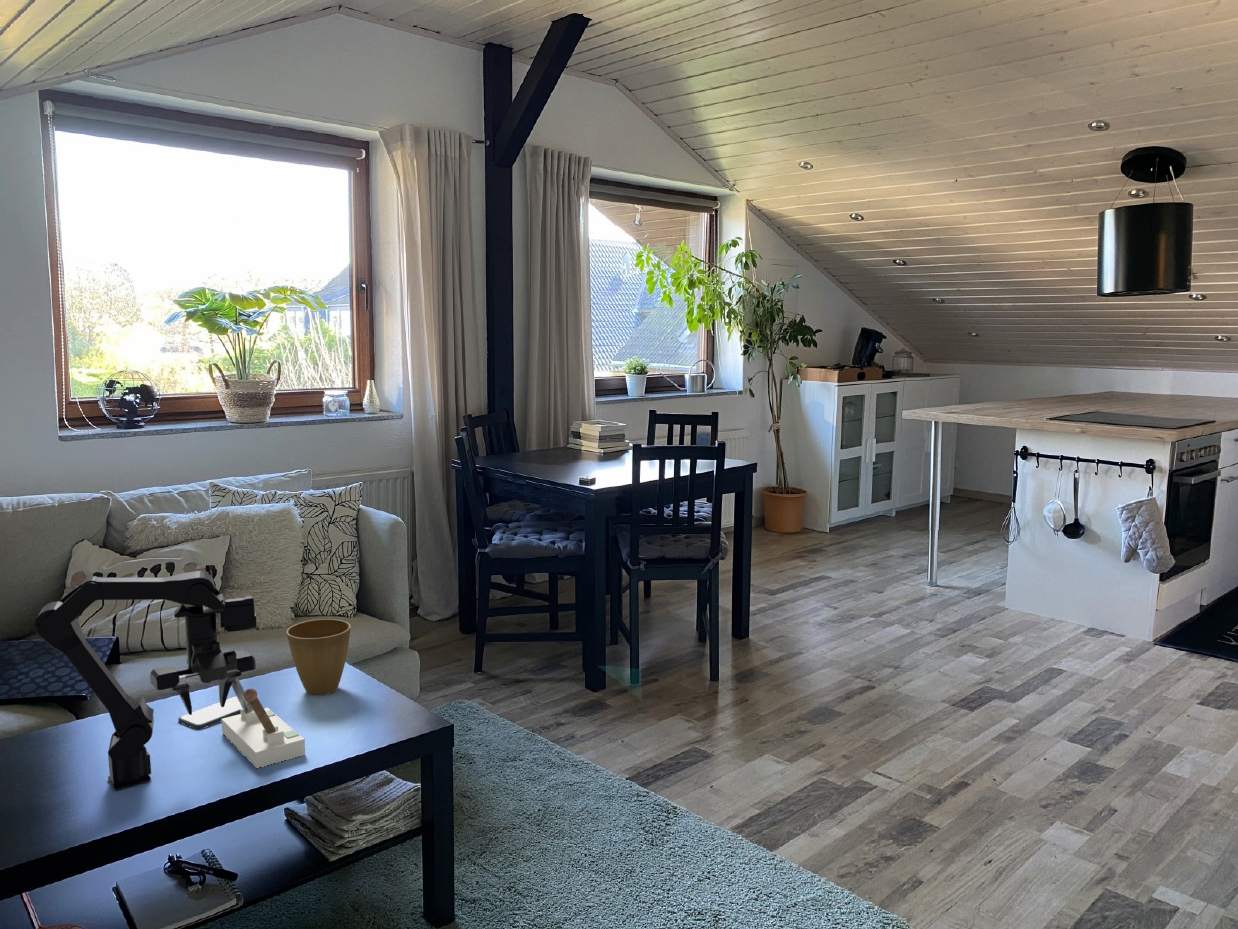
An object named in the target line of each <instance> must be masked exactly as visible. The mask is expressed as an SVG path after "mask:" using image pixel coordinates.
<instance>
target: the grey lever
mask: <svg viewBox="0 0 1238 929" xmlns="http://www.w3.org/2000/svg"><path fill="white" fill-rule="evenodd" d="M231 688H232V690H233V692H234V694H235V696H237V698H238V700H239V702H240V704H241V706H242V708H243V710H244V712H245V713H249V712H253V708H252V707H251V705H250V703H249V701H246V700H245V699H244V692H245V690H244V688H243V686H242V684H241V682H240V680H239V677H237V678H236V679H235V680H234V681H233V683H232V685H231Z"/></svg>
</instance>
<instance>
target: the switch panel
mask: <svg viewBox="0 0 1238 929" xmlns="http://www.w3.org/2000/svg"><path fill="white" fill-rule="evenodd" d="M263 708H264V710H265V711H266V713H267V715H268V717H269V718H270V720H271V722H272V724H273V725H274V727H275V729H276V732H274V733H270V734H267V732H266V731H265V729H264V727H263V726H262V724H261V722H260V720H259V719H258V717H257V715H256V713H255V712H254V710H253V712H249V713H245V712H244V710H243V709H240V710H241V714H239V715H235V716H231V717H227V718H223V719H221V720H222V722H221V732H222V733H223V734H224V735H225V736H226V737H227V738H228V739H229V740H230V741H231V742H230V741H229V740H228V739H227V738H226V737H225V736H224V735H223V734H222V733H221V734H222V735H223V736H224V737H225V738H226V739H227V740H228V741H229V742H230V743H231V744H232V743H233V744H234V745H235V746H236V747H237V748H236V747H235V746H234V745H233V744H232V745H233V746H234V747H235V748H236V750H238V749H239V750H240V751H241V752H240V751H239V750H238V751H239V752H240V753H241V754H242V753H243V754H244V756H246V757H247V758H248V760H250V762H251V763H253V765H254V766H255V767H256V768H258V769H260V768H259V767H262V768H265V767H268V766H267V765H269V766H271V765H270V764H272V765H274V764H273V763H276V764H279V763H282V762H281V761H283V762H285V761H284V760H286V761H290V760H292V758H293V759H296V758H295V757H297V758H299V757H298V756H300V757H304V756H306V743H305V738H304V737H303V736H301V734H299V733H298V732H297V731H296V730H294V729H293V728H292V727H291V726H290V725H289V724H287V723H286V722H285V721H284V720H283V719H281V718H280V716H278V715H277V714H276V713H274V712H273V711H272V710H271V709H270V708H269V707H263ZM243 754H242V755H243ZM244 756H243V757H244ZM289 759H290V760H289ZM248 760H247V761H248ZM250 762H249V763H250ZM278 762H279V763H278ZM251 763H250V764H251ZM253 765H252V766H253ZM254 766H253V767H254ZM264 766H265V767H264ZM255 767H254V768H255ZM256 768H255V769H256Z"/></svg>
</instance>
